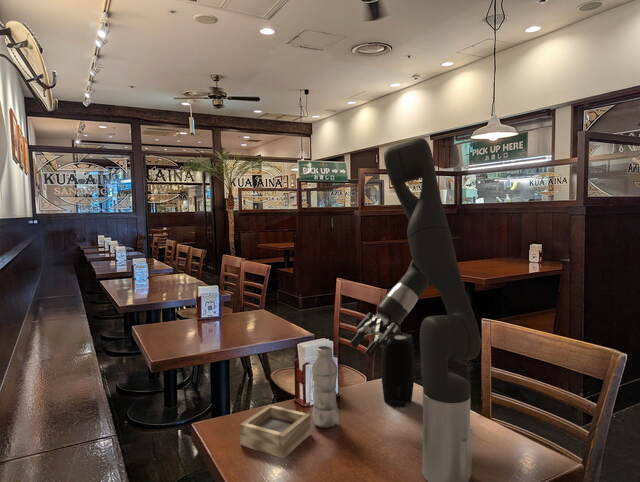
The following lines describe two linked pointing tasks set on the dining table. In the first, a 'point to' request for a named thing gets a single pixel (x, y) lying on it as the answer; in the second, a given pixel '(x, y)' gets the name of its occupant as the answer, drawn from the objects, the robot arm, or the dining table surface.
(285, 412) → the stand
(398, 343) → the portable speaker
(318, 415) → the plastic bottle
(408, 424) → the dining table surface
